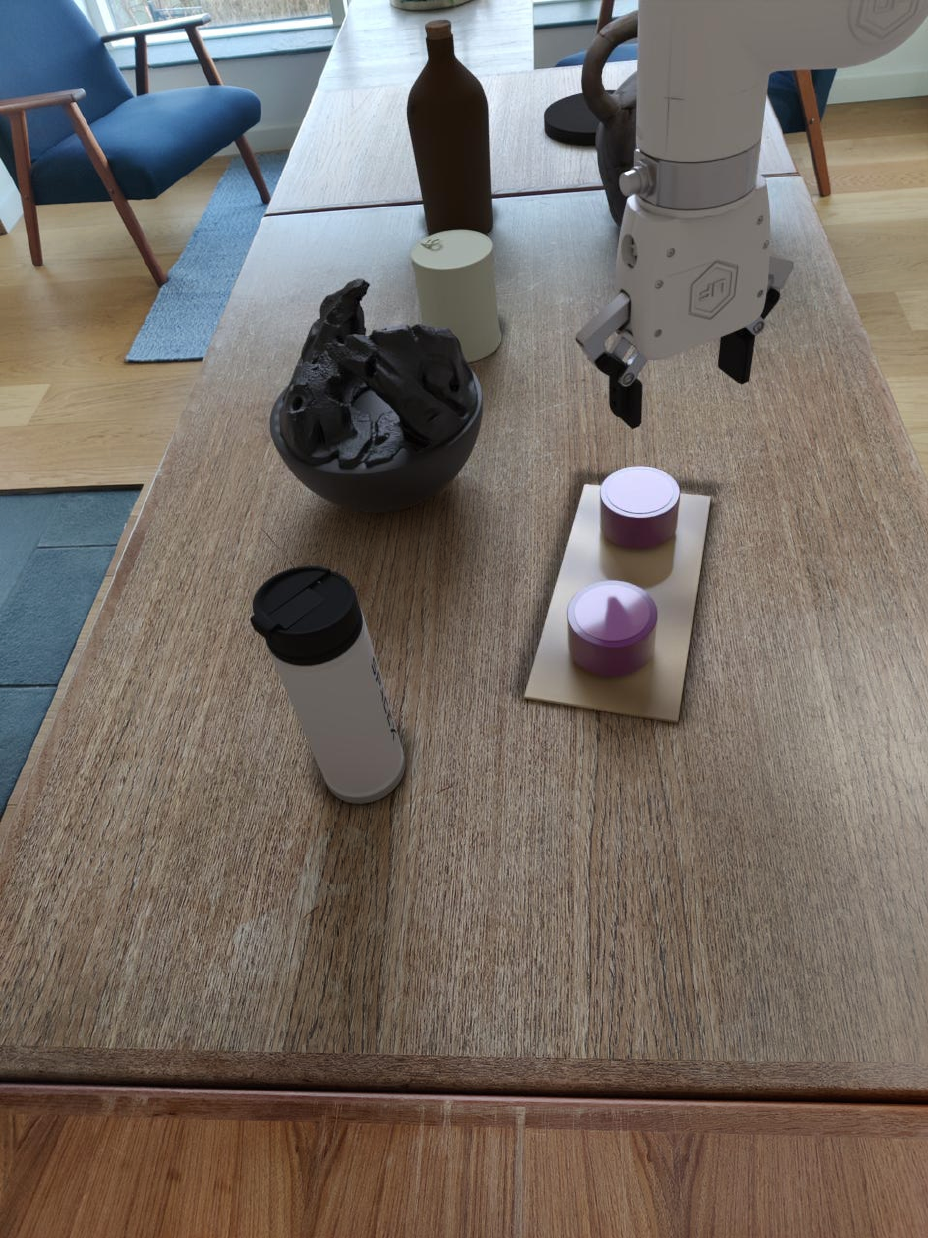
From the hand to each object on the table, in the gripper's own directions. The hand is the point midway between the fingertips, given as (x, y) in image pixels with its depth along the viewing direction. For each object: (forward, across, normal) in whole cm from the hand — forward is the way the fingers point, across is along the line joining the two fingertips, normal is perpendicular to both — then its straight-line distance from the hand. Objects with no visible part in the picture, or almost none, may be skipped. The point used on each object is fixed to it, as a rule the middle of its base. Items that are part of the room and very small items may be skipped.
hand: (680, 396), depth 68 cm
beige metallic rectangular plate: (+16, -7, -3) cm, 17 cm away
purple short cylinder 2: (+15, -11, -8) cm, 21 cm away
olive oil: (+16, +11, +68) cm, 71 cm away
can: (+16, -2, +41) cm, 44 cm away
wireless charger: (+16, +45, +88) cm, 100 cm away
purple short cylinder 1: (+15, -2, +3) cm, 16 cm away
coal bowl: (+15, -19, +21) cm, 32 cm away
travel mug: (+15, -33, -9) cm, 38 cm away
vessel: (+16, +34, +52) cm, 64 cm away
